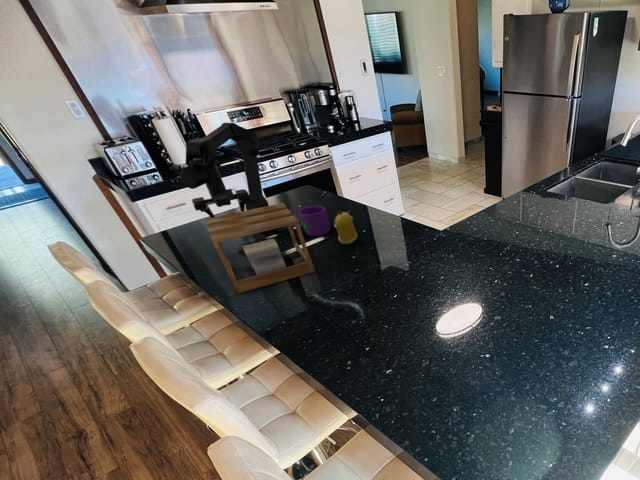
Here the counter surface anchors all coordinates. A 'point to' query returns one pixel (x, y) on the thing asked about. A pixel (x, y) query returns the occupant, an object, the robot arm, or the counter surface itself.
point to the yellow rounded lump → (345, 228)
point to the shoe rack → (252, 224)
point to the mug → (314, 220)
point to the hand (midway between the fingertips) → (231, 222)
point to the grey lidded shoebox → (264, 256)
